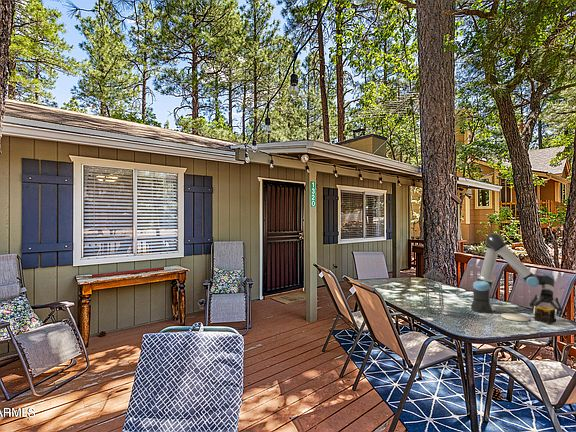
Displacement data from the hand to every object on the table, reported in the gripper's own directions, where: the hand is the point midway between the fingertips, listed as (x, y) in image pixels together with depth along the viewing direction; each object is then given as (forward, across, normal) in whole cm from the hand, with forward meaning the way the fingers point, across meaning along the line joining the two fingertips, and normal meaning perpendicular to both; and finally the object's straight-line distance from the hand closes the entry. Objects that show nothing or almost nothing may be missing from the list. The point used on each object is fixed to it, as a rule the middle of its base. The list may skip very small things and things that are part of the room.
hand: (544, 316), depth 240 cm
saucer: (+6, +18, -1) cm, 18 cm away
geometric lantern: (+24, +68, +17) cm, 74 cm away
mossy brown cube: (+1, 0, -5) cm, 5 cm away
